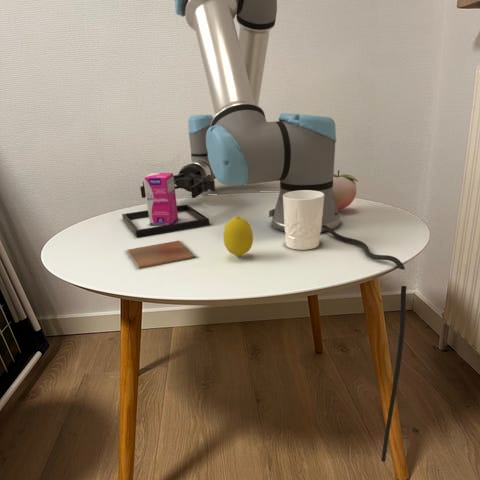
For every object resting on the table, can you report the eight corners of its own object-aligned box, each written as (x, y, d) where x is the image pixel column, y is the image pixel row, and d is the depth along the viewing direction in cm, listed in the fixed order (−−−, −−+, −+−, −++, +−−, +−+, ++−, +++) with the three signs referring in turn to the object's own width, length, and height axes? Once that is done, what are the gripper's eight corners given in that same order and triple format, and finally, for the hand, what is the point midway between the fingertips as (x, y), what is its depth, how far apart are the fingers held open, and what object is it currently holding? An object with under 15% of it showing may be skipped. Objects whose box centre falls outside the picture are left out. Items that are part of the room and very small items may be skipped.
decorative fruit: (316, 216, 105) (317, 173, 100) (318, 207, 112) (320, 167, 107) (355, 216, 103) (359, 173, 98) (355, 208, 110) (359, 167, 105)
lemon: (244, 264, 79) (242, 221, 75) (219, 259, 82) (216, 218, 78) (259, 254, 83) (257, 213, 79) (234, 251, 86) (232, 211, 82)
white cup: (321, 251, 83) (323, 199, 78) (280, 250, 85) (280, 199, 80) (322, 238, 90) (324, 189, 85) (285, 238, 91) (285, 190, 87)
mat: (194, 257, 84) (194, 255, 84) (138, 268, 80) (138, 266, 80) (178, 242, 93) (178, 240, 92) (127, 251, 89) (127, 249, 89)
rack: (209, 225, 103) (209, 218, 102) (136, 237, 97) (135, 231, 97) (187, 209, 118) (186, 204, 117) (122, 219, 112) (121, 214, 111)
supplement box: (149, 225, 105) (142, 177, 100) (157, 219, 110) (150, 172, 105) (172, 225, 104) (165, 176, 99) (179, 219, 110) (173, 172, 104)
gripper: (236, 189, 125) (216, 207, 107) (156, 189, 131) (124, 207, 113) (235, 162, 121) (213, 176, 103) (153, 163, 127) (119, 177, 109)
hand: (167, 192), depth 108 cm, fingers open, 13 cm apart
